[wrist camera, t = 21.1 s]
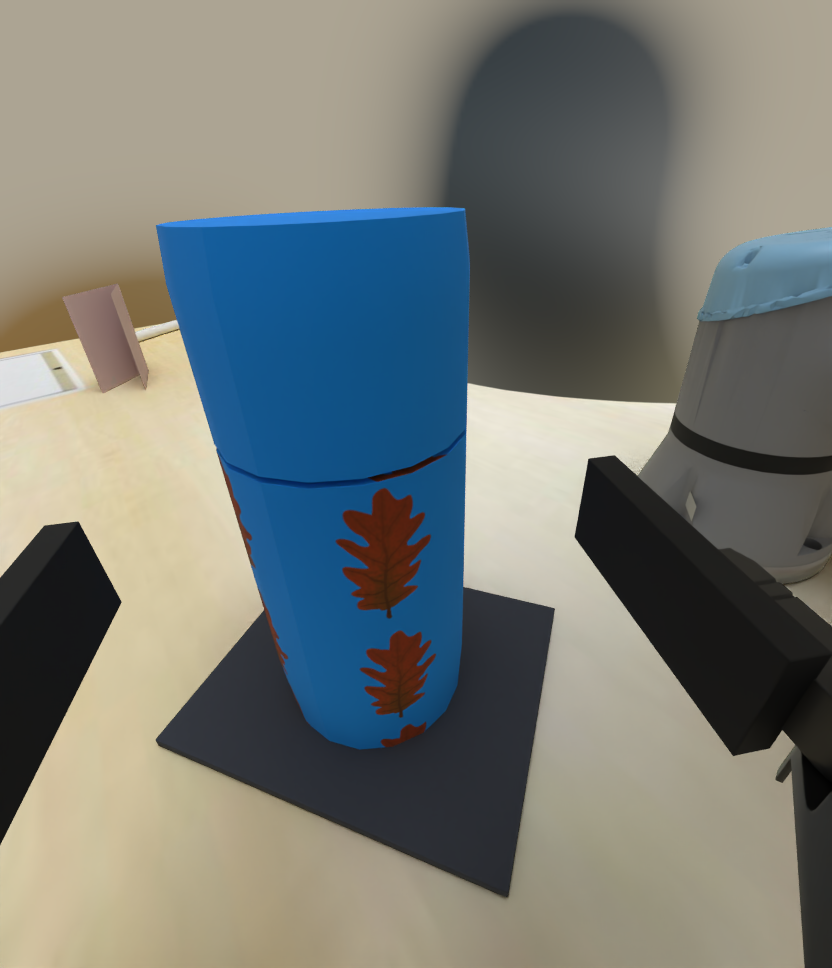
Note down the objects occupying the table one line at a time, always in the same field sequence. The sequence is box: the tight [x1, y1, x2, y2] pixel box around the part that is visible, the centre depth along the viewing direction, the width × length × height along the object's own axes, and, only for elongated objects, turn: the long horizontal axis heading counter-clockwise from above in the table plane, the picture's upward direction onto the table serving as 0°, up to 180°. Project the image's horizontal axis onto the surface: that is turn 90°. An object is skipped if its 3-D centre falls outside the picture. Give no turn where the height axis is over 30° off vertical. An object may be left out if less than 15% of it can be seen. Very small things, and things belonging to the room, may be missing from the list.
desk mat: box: [156, 587, 555, 897], centre depth 30 cm, size 17×20×1 cm
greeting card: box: [63, 284, 149, 393], centre depth 77 cm, size 11×7×15 cm, turn 169°
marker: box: [135, 320, 179, 342], centre depth 108 cm, size 18×2×2 cm, turn 157°
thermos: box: [156, 207, 470, 749], centre depth 23 cm, size 11×11×25 cm
